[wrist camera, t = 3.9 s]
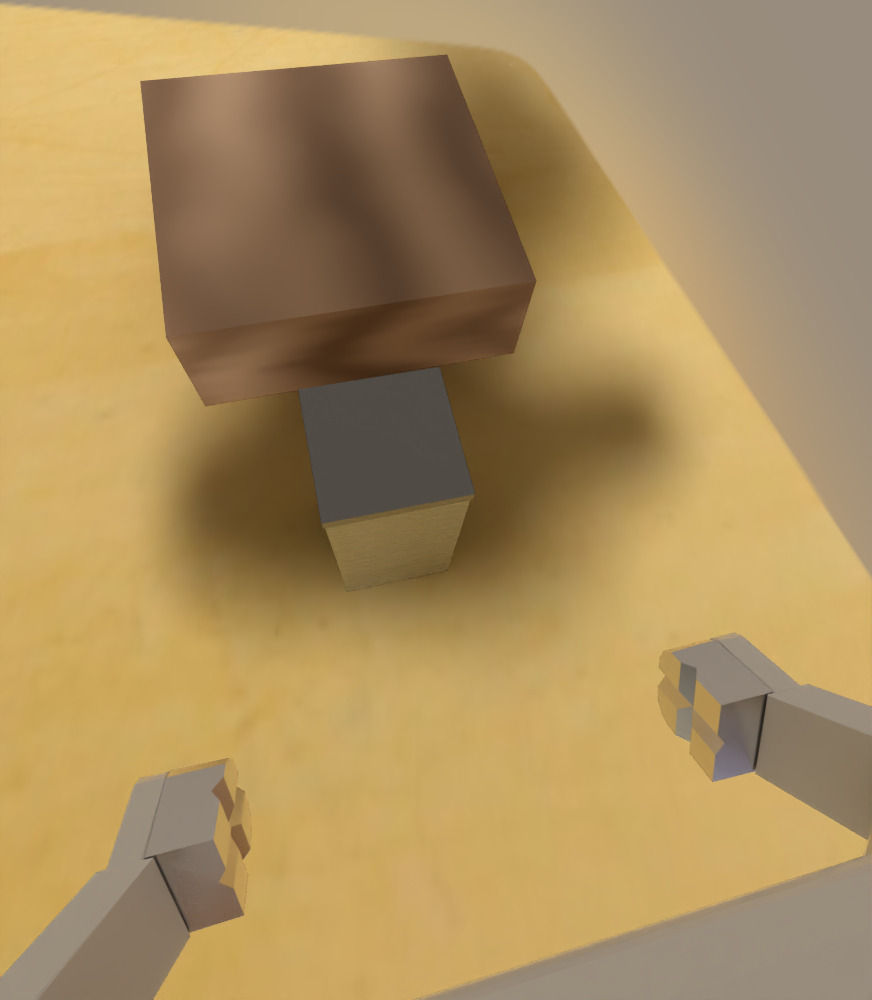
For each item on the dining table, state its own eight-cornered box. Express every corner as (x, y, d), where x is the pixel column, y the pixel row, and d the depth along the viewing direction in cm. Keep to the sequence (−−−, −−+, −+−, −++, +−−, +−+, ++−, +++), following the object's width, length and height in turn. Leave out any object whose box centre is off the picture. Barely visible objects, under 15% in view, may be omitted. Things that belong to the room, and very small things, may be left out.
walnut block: (207, 410, 25) (166, 337, 20) (179, 181, 30) (140, 81, 25) (512, 357, 27) (536, 280, 23) (439, 152, 32) (446, 54, 28)
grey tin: (346, 593, 22) (321, 524, 15) (328, 497, 24) (298, 389, 16) (449, 571, 23) (474, 494, 15) (426, 478, 24) (439, 366, 17)
